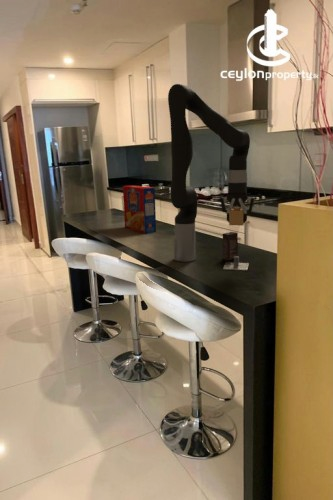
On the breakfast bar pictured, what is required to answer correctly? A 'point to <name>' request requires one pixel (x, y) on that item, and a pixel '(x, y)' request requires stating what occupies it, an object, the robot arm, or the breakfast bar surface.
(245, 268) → the square plate with peg
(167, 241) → the breakfast bar surface
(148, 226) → the pasta box
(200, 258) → the breakfast bar surface
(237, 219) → the orange toy brick
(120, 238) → the breakfast bar surface
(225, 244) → the box
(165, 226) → the breakfast bar surface
